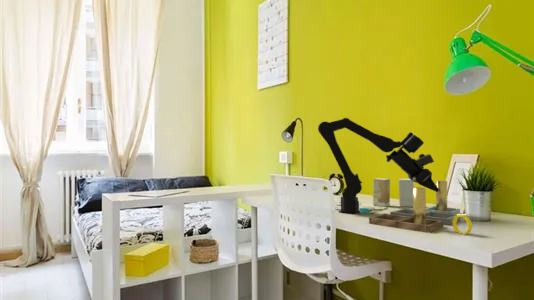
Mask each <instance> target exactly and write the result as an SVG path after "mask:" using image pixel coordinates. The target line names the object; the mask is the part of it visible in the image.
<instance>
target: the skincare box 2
mask: <svg viewBox="0 0 534 300" xmlns="http://www.w3.org/2000/svg"><path fill="white" fill-rule="evenodd" d="M413 180H414V179H413ZM413 188H415V182H414V181H412V180H411V179H410V178H399V179H398V193H399V194H398V197H399V199H398V200H399V201H398V202H399V207H408V208H410V207H411V208H413Z"/></svg>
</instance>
